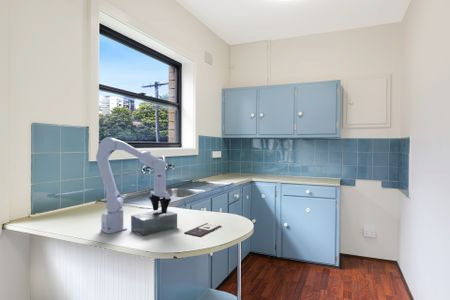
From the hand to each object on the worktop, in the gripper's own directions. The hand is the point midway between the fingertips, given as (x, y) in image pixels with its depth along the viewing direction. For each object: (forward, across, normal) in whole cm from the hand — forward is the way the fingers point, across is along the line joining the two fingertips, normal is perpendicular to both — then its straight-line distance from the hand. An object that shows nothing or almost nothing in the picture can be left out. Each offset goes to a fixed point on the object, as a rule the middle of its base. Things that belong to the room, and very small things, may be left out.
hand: (159, 211), depth 138 cm
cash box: (+8, 0, +3) cm, 8 cm away
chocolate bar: (+9, -18, -13) cm, 24 cm away
